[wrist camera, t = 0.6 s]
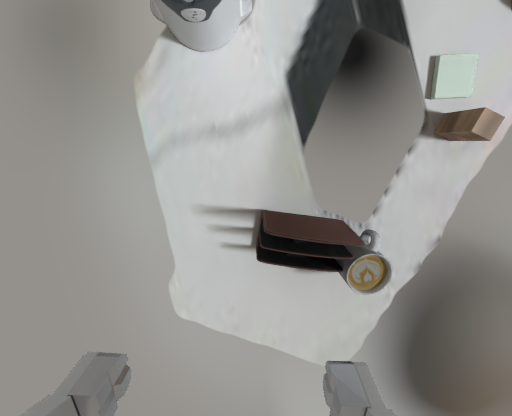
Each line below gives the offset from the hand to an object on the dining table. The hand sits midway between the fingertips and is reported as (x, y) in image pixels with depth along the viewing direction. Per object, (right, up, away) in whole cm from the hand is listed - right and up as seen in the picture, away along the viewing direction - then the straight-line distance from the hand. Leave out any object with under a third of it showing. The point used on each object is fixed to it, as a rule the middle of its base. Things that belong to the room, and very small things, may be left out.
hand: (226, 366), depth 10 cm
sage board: (+43, +34, +40) cm, 68 cm away
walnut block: (+44, +24, +43) cm, 66 cm away
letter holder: (+12, 0, +48) cm, 50 cm away
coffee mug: (+26, -4, +50) cm, 57 cm away
